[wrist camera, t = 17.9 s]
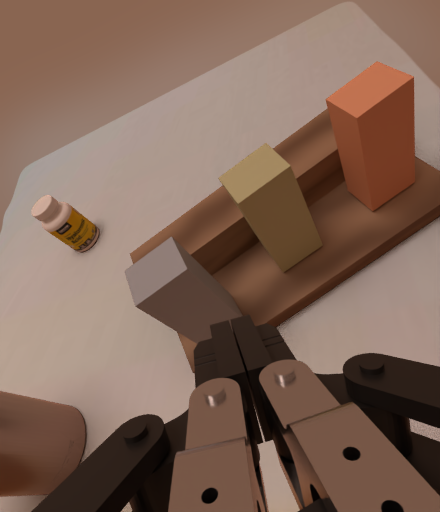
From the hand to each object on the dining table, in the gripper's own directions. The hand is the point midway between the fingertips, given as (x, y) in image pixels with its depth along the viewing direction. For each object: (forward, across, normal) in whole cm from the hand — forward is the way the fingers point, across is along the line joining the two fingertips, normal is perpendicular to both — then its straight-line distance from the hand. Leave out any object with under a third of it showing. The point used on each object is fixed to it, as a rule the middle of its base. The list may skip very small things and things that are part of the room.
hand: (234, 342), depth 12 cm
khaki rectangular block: (+24, -9, +4) cm, 26 cm away
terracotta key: (+23, -20, 0) cm, 31 cm away
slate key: (+23, 0, +9) cm, 24 cm away
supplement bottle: (+49, +19, 0) cm, 53 cm away
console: (+27, -10, +4) cm, 29 cm away
